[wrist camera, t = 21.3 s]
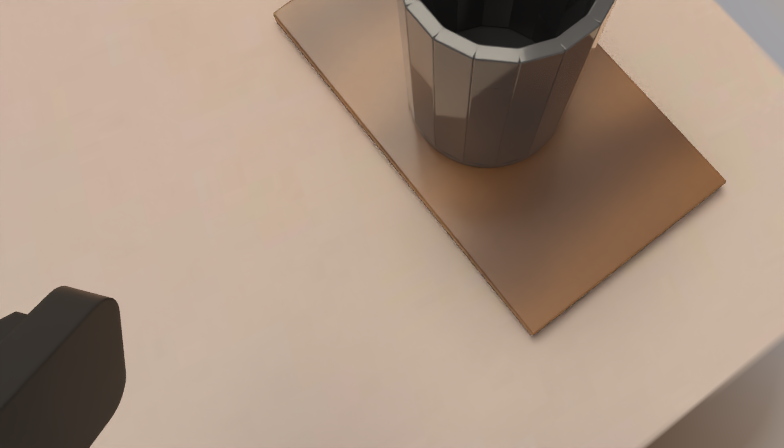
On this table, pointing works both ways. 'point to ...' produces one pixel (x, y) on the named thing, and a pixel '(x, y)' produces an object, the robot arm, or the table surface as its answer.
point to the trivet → (518, 164)
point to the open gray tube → (495, 71)
